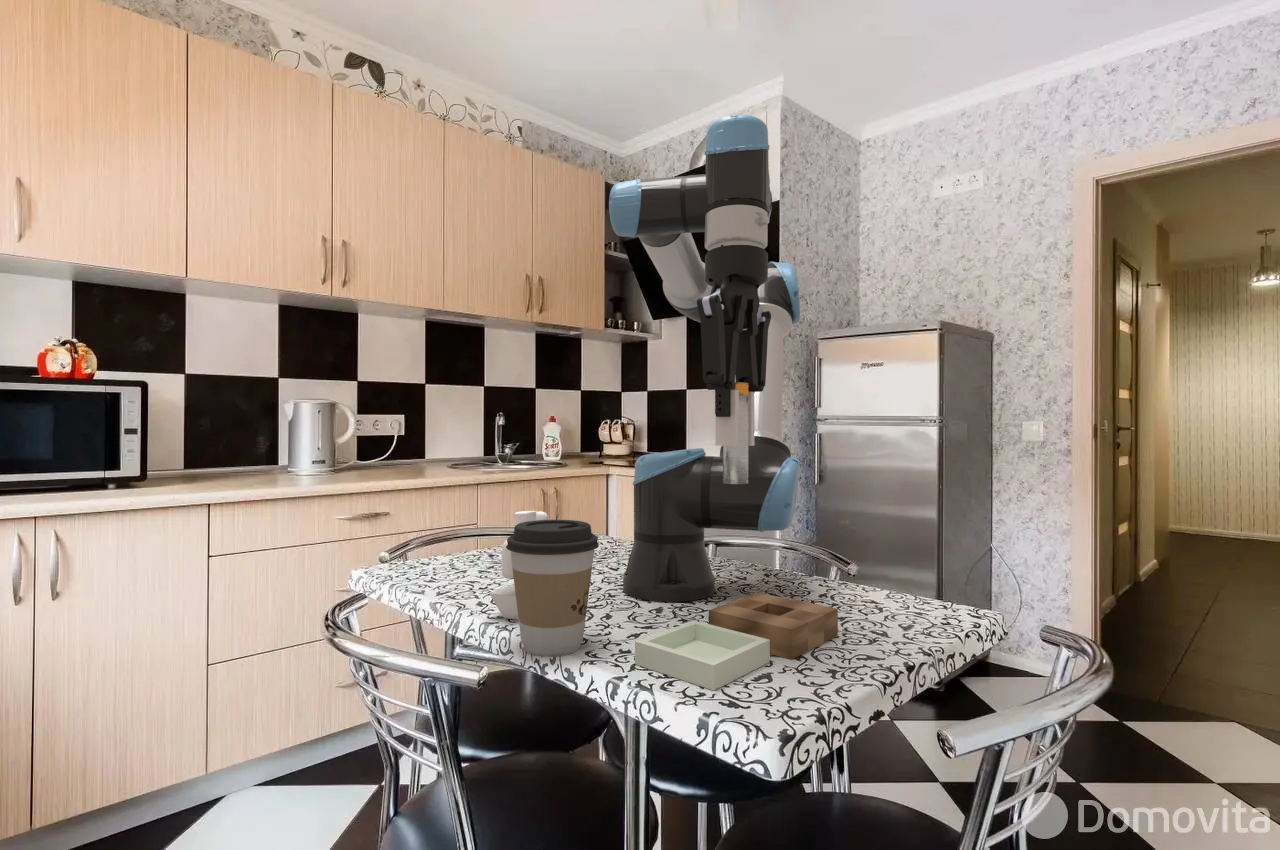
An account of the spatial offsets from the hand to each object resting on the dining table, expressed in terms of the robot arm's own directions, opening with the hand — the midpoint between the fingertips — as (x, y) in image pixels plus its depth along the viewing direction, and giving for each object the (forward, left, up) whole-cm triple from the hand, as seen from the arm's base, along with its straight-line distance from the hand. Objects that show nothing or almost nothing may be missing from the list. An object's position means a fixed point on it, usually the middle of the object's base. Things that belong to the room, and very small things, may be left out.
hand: (735, 445), depth 79 cm
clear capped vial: (0, 0, -5) cm, 5 cm away
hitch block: (0, +9, -25) cm, 26 cm away
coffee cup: (-18, -13, -25) cm, 34 cm away
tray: (-1, -5, -25) cm, 26 cm away
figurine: (-31, -7, -25) cm, 40 cm away
